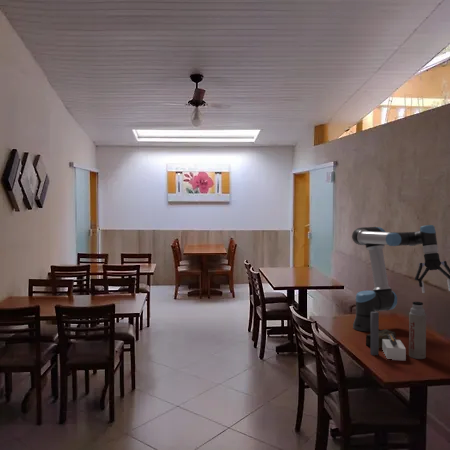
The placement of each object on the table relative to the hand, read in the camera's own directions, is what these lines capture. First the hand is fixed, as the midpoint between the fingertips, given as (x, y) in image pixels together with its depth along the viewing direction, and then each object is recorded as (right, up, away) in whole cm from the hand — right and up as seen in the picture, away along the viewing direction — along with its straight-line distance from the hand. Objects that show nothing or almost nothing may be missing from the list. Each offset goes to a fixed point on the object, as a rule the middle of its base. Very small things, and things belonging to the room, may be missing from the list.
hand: (436, 292), depth 244 cm
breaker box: (-28, -31, -11) cm, 43 cm away
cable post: (-37, -31, -10) cm, 49 cm away
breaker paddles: (-28, -25, -12) cm, 39 cm away
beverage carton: (-28, -31, +8) cm, 42 cm away
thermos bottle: (-17, -31, -14) cm, 38 cm away
